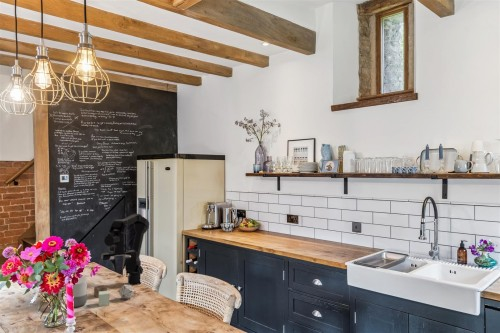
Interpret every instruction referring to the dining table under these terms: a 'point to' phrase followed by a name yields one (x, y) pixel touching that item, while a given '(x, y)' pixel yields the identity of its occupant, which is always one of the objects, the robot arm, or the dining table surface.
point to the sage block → (103, 298)
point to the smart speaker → (80, 292)
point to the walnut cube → (98, 289)
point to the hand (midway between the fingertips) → (119, 270)
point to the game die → (126, 291)
